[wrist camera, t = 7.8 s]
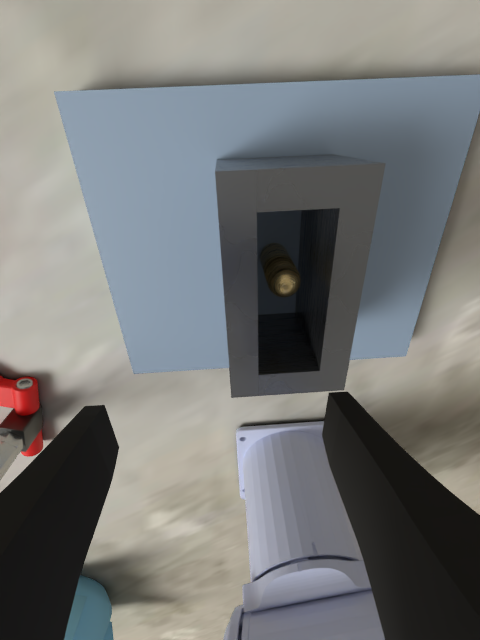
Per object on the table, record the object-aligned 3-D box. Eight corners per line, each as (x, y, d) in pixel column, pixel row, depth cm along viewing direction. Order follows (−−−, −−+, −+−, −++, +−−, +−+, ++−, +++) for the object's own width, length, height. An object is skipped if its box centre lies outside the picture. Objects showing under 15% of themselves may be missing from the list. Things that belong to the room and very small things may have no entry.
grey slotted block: (314, 329, 18) (344, 389, 14) (228, 334, 18) (231, 397, 14) (332, 154, 13) (385, 163, 9) (216, 159, 13) (214, 171, 9)
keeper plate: (394, 342, 21) (405, 356, 19) (139, 358, 20) (133, 373, 19) (465, 79, 13) (491, 74, 12) (70, 95, 13) (53, 91, 12)
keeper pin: (286, 269, 16) (303, 302, 13) (259, 270, 16) (269, 304, 13) (287, 242, 15) (305, 270, 12) (259, 243, 15) (270, 272, 12)
